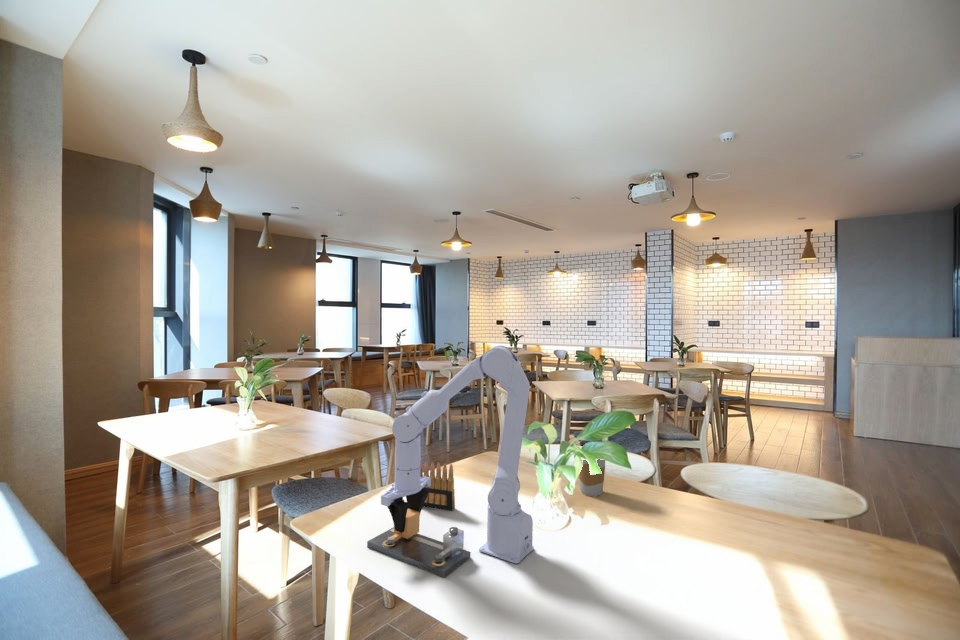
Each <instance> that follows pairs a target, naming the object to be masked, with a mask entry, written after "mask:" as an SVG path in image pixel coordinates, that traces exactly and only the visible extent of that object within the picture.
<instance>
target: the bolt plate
mask: <svg viewBox="0 0 960 640" xmlns="http://www.w3.org/2000/svg"><path fill="white" fill-rule="evenodd" d="M464 532H465V531H464V530H463V529H460V528H459V527H456V526H452V527H449V531H448V532H446V533H444V534H443V535H442V541H440V540H438V539H435V538H431V537H429V536H426V535H423V534H420V533H419V532H418V533H416V534H415V535H413V536H411V537H410V538H408V539H406V538H404V537H401V538H400V539H398V540H396V541H395V542H394V543H391V544H388V537H391V536H393V535H395V534H394V526H392V527H391V528H389V529H388V530H385V531H384V532H382V533H379V535H377V536H374V537H373V538H370V539H369V540H368V541H367V543H366V544H367V545H366V547H367V548H369V549H371V548H372V550H373V551H376V552H379V553H382V554H384V555H387V556H389V557H391V558H395V559H396V558H397V560H398V561H401V560H402V561H401V562H404V563H406V562H407V563H406V564H409V565H411V566H414V567H416V568H419V569H422V570H424V571H426V572H429V573H431V574H434V575H437V576H438V577H442V578H444V579H445V578H446V577H447V576H449V575H450V574H451V573H453V572H454V571H455V570H457V569H458V568H459V567H461V566H462V565H464V563H466V562H467V561H469V559H471V551H469V550H466V549H464V545H465V544H464V538H465V533H464Z"/></svg>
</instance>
